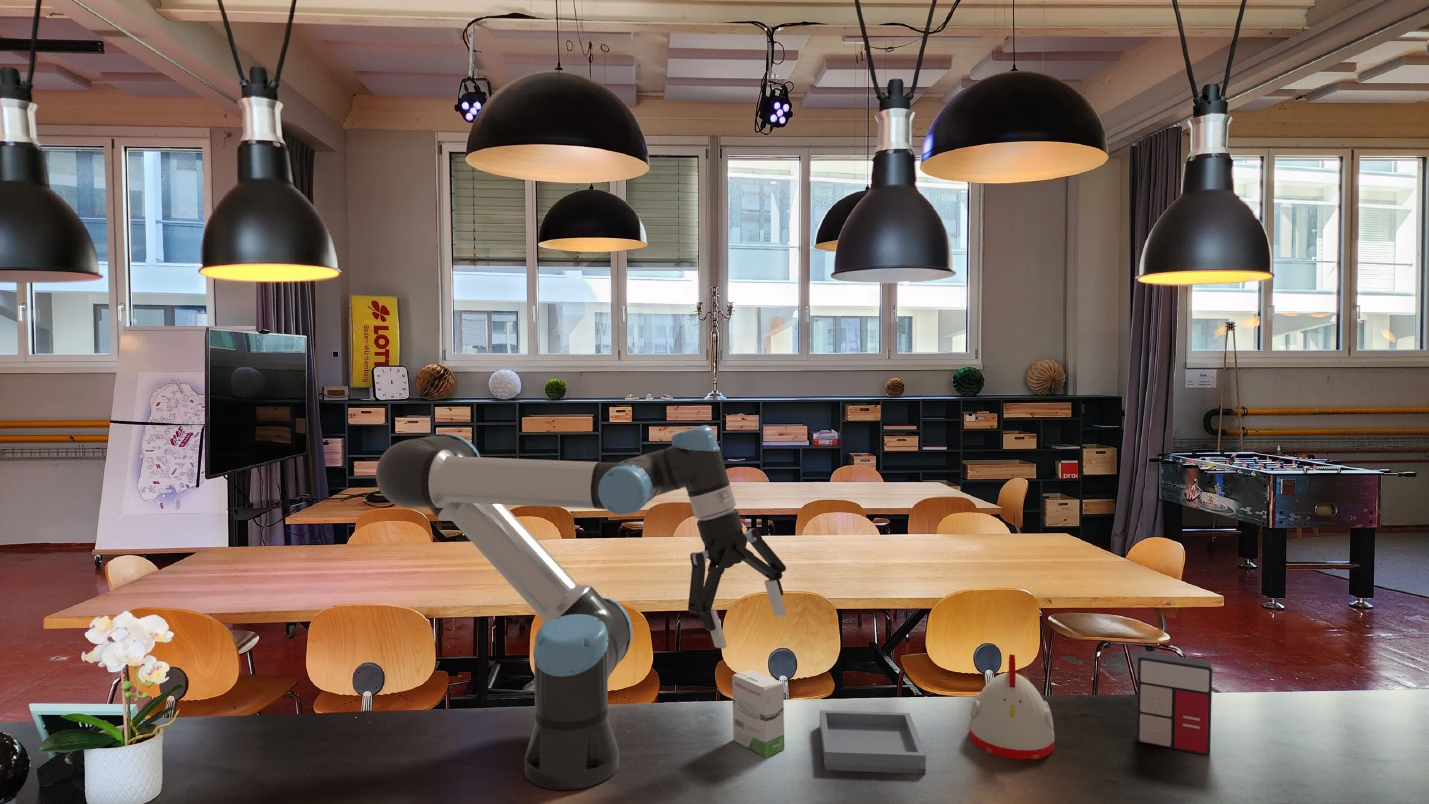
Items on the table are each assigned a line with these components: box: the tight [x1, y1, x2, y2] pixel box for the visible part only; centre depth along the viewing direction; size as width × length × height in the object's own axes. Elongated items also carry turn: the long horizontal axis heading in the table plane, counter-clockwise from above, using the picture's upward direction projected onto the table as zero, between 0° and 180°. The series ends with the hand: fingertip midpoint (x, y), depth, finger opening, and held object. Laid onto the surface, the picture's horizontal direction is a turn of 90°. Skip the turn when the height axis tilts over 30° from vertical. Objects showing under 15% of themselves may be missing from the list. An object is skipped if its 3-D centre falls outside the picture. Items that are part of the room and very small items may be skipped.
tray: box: [819, 709, 927, 775], centre depth 138 cm, size 16×16×3 cm
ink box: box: [731, 669, 785, 758], centre depth 139 cm, size 9×5×12 cm, turn 39°
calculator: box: [1135, 651, 1213, 756], centre depth 138 cm, size 11×4×15 cm, turn 62°
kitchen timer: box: [968, 653, 1055, 760], centre depth 141 cm, size 14×14×15 cm
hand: (751, 630), depth 140 cm, fingers open, 13 cm apart
